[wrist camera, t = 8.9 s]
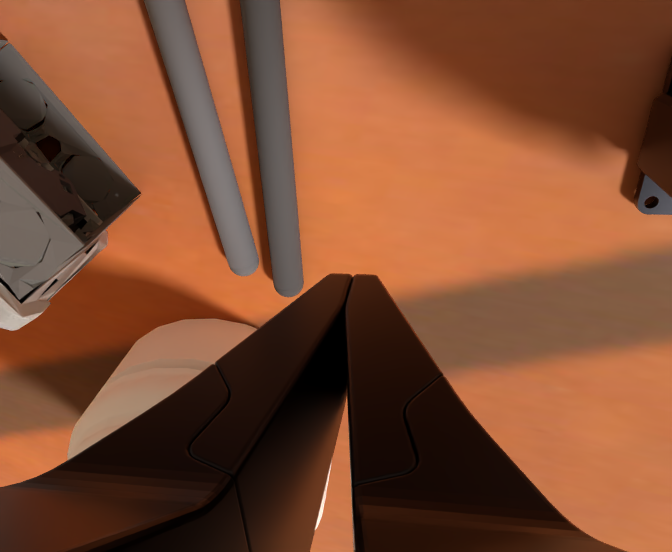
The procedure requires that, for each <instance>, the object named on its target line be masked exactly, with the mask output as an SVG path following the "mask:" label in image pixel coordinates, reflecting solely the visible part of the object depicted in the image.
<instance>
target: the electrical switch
mask: <svg viewBox="0 0 672 552" xmlns="http://www.w3.org/2000/svg"><path fill="white" fill-rule="evenodd" d="M7 42H8V41H6V40H0V48H1V47H3V46H4V45H5V44H6V43H7ZM0 80H3V81H2V82H1V83H0V328H3V329H7V330H11V331H13V330H18V329H20V328H21V327H23V326H24V325H26V324H27V323H29V322H31V321H32V320H34V319H35V318H37V317H38V316H39V315H41V314H42V313H43V312H44V311H45V310H46V309H47V307H48V306H49V305H50V304H51V303H50V302H48V301H49V300H50V299H51V298H52V297H53V296H54V295H55V294H56V293H57V292H58V291H59V290H60V289H61V288H62V287H63V286H64V285H65V284H66V283H68V282H69V281H70V280H71V279H72V278H73V277H74V276H75V275H76V274H77V273H78V272H79V271H80V270H81V269H82V268H83V267H84V266H85V265H87V264H88V263H89V262H90V261H91V260H92V259H93V258H94V257H95V256H96V255H97V254H98V253H99V252H100V251H102V250H103V249H104V248H105V247H106V246H107V244H108V232H107V231H106V229H107V228H108V227H109V226H110V225H111V224H112V223H113V222H114V221H115V220H116V219H117V218H118V217H119V216H120V215H121V214H122V213H123V212H124V211H126V210H127V209H128V208H129V207H130V206H131V205H132V204H133V203H134V202H135V201H136V200H137V199H138V198H139V197H140V196H141V195H140V196H139V197H137V196H138V195H139V194H141V193H140V192H139V191H138V189H137V188H136V187H135V186H134V185H133V184H132V182H131V181H130V180H129V179H128V178H127V177H126V176H125V174H124V173H123V172H122V171H121V170H120V169H119V167H118V166H117V165H116V164H115V163H114V162H113V161H112V159H111V158H110V157H109V156H108V155H107V154H106V153H105V151H104V150H103V149H102V148H101V147H100V146H99V145H98V143H97V142H96V141H95V140H94V139H93V138H92V136H91V135H90V134H89V133H88V132H87V131H86V130H85V128H84V127H83V126H82V125H81V124H80V123H79V122H78V120H77V119H76V118H75V117H74V116H73V115H72V113H71V112H70V111H69V110H68V109H67V108H66V107H65V105H64V104H63V103H62V102H61V101H60V100H59V99H58V97H57V96H56V95H55V94H54V93H53V92H52V90H51V89H50V88H49V87H48V86H47V85H46V84H45V82H44V81H43V80H42V79H41V78H40V77H39V76H38V74H37V73H36V72H35V71H34V70H33V69H32V67H31V66H30V65H29V64H28V63H27V62H26V61H25V59H24V58H23V57H22V56H21V55H20V54H19V53H18V51H17V50H16V49H15V48H14V47H13V46H12V45H11V44H10V43H9V44H8V45H6V46H5V47H4V48H3V49H1V50H0ZM27 81H28V82H27ZM29 82H32V83H33V84H31V83H29ZM43 99H44V100H43ZM44 101H45V102H46V104H47V105H48V106H47V108H46V105H45V103H44ZM44 117H45V120H44V123H43V124H42V125H41V126H39V127H38V128H36V129H34V130H31V131H29V132H27V131H24V130H22V129H25V130H27V129H28V128H30V127H32V126H33V125H35V124H37V123H39V122H40V121H42V120H43V118H44ZM28 135H29V136H28ZM49 135H50V136H52V137H54V138H56V139H57V140H58V141H59V143H60V144H61V151H60V152H59V153H58V155H57V156H56V157H55V158H54V159H53V160H52V161H51V162H49V161H48V160H47V158H46V157H45V156H44V154H43V153H42V152H41V151H40V149H39V148H38V147H37V145H36V144H35V143H36V142H38V141H40V140H42V139H44V138H45V137H47V136H49ZM72 155H80V156H74V157H73V158H72V159H71V160H70V161H69V162H68V163H67V164H66V166H65V167H64V168H63V169H62V171H63V173H61V168H62V166H63V164H64V163H65V161H66V159H68V158H69V157H70V156H72ZM98 158H100V159H101V161H100V160H99V159H98ZM57 167H58V168H57ZM109 190H110V191H109ZM136 197H137V198H136ZM134 198H136V199H134ZM133 199H134V200H133ZM132 200H133V201H132ZM129 202H130V203H129ZM92 203H93V204H92ZM92 209H94V210H95V212H96V213H97V215H98V216H97V215H96V213H95V212H94V211H93V210H92Z"/></svg>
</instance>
